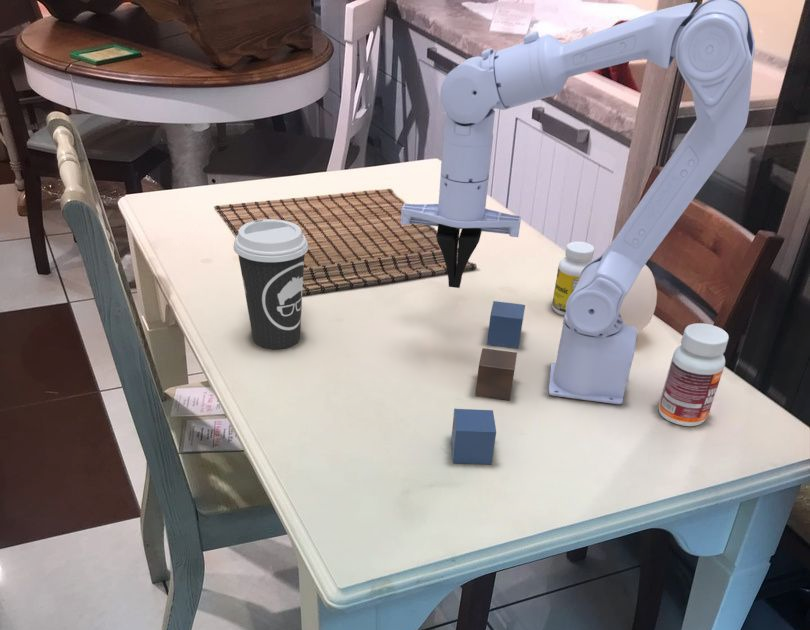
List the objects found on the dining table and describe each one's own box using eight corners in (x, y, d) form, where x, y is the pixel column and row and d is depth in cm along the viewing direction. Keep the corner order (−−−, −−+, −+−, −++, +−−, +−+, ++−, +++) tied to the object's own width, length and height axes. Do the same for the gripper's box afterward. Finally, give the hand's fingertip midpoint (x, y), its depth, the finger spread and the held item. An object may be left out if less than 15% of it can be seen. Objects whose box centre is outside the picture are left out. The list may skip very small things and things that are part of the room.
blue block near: (488, 442, 99) (493, 410, 96) (491, 464, 96) (496, 432, 93) (450, 440, 99) (454, 408, 96) (452, 463, 96) (456, 430, 93)
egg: (651, 353, 118) (672, 275, 110) (590, 349, 118) (607, 271, 110) (640, 324, 124) (659, 249, 117) (582, 321, 124) (598, 245, 116)
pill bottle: (707, 431, 103) (735, 349, 96) (657, 423, 104) (681, 341, 97) (705, 405, 108) (732, 325, 100) (657, 398, 109) (680, 317, 101)
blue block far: (520, 333, 120) (525, 304, 117) (518, 348, 117) (523, 318, 114) (489, 329, 121) (493, 300, 118) (486, 344, 117) (490, 314, 114)
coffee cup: (308, 320, 120) (304, 216, 110) (314, 353, 113) (311, 244, 103) (240, 323, 119) (231, 217, 109) (242, 356, 112) (232, 246, 102)
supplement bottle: (546, 302, 128) (557, 239, 122) (579, 300, 129) (592, 238, 123) (557, 318, 124) (569, 254, 118) (592, 317, 125) (605, 253, 119)
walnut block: (512, 382, 110) (517, 352, 107) (509, 400, 106) (514, 369, 103) (478, 378, 110) (482, 347, 107) (474, 396, 107) (478, 365, 104)
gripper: (527, 170, 101) (512, 277, 110) (409, 158, 102) (404, 265, 111) (524, 189, 96) (509, 301, 105) (400, 176, 97) (395, 287, 106)
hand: (454, 284), depth 107 cm, fingers closed
